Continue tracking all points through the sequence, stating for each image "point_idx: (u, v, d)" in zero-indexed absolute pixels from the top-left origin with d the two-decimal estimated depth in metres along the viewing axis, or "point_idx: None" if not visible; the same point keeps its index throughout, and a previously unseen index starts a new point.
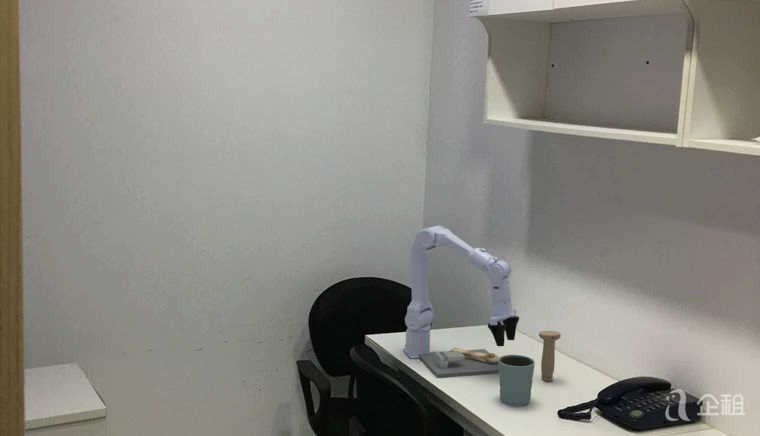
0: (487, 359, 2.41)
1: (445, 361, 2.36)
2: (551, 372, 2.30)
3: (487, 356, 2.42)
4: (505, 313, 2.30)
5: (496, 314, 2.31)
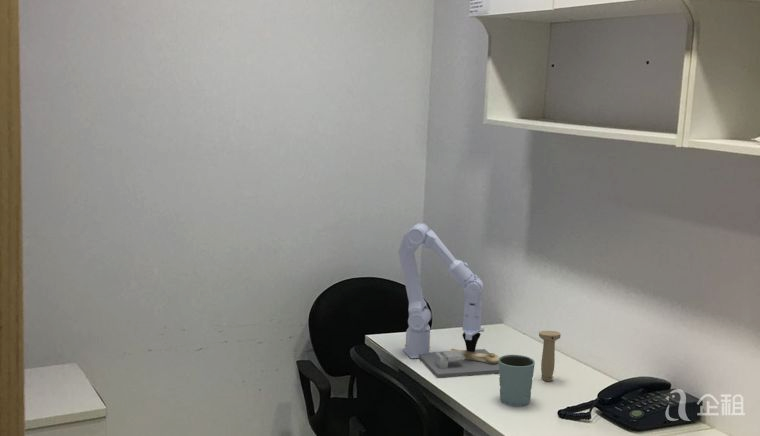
0: (488, 359, 2.41)
1: (445, 361, 2.36)
2: (551, 372, 2.30)
3: (487, 356, 2.42)
4: (476, 328, 2.43)
5: (468, 328, 2.44)
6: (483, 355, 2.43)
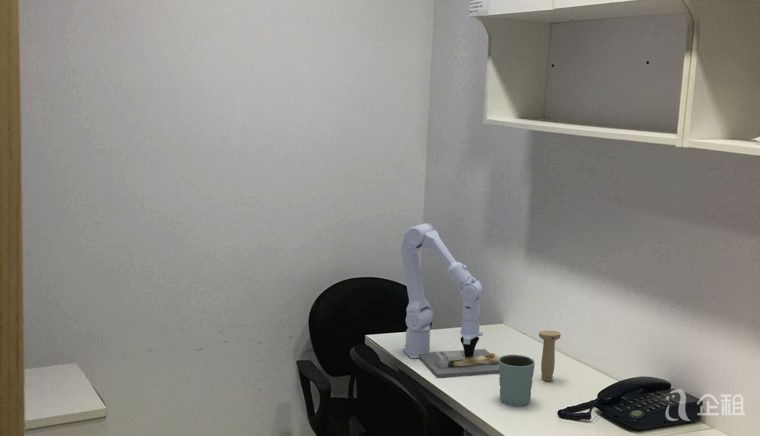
0: (493, 360, 2.40)
1: (445, 361, 2.36)
2: (551, 372, 2.30)
3: (489, 357, 2.41)
4: (475, 332, 2.39)
5: (466, 332, 2.39)
6: (484, 357, 2.41)
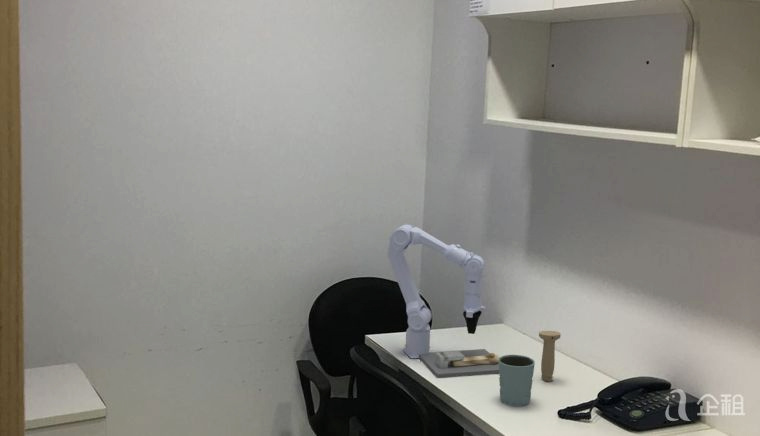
0: (493, 360, 2.40)
1: (445, 361, 2.36)
2: (551, 372, 2.30)
3: (489, 357, 2.41)
4: (477, 305, 2.42)
5: (468, 306, 2.42)
6: (484, 357, 2.41)
